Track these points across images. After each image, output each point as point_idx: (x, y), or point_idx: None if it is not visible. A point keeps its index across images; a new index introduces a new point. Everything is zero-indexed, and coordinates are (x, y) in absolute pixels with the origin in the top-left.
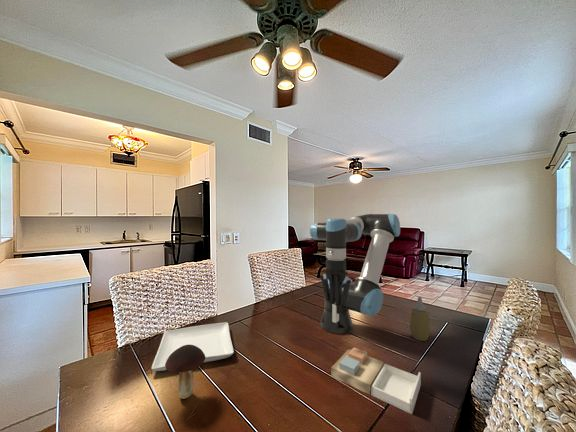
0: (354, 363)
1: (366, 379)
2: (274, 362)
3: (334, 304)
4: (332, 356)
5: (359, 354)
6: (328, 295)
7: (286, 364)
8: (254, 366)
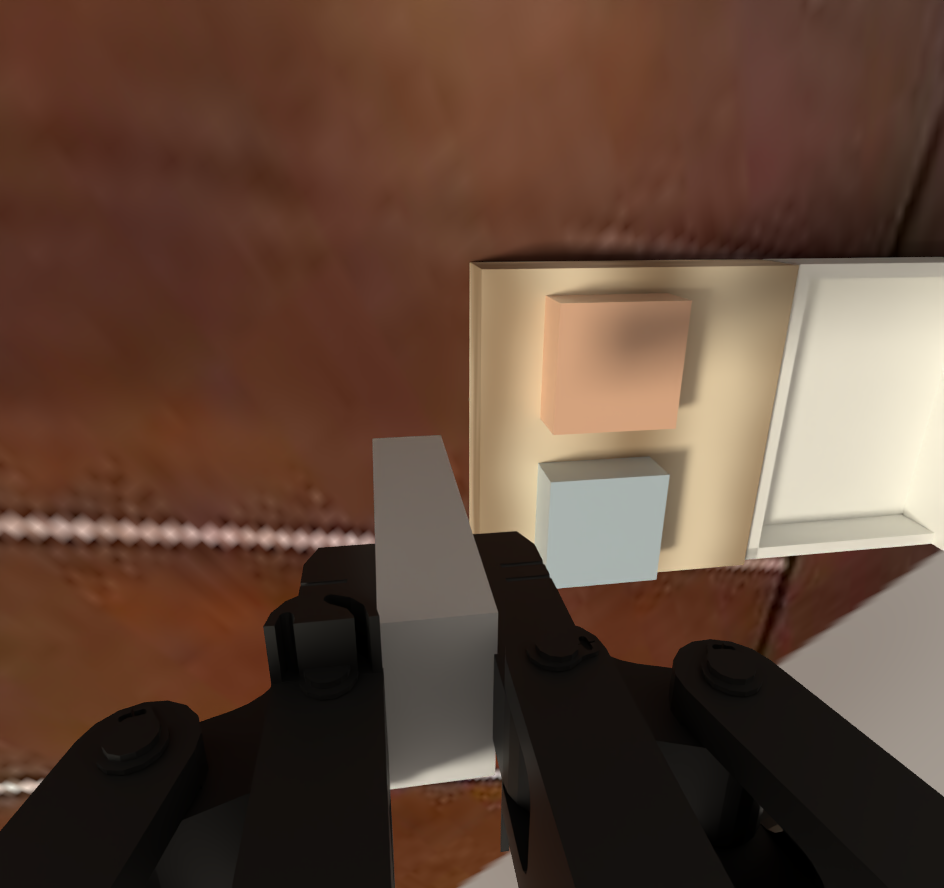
0: (641, 523)
1: (715, 537)
2: (63, 693)
3: (434, 756)
4: (353, 347)
5: (642, 385)
6: (52, 882)
7: (147, 654)
8: (5, 797)
